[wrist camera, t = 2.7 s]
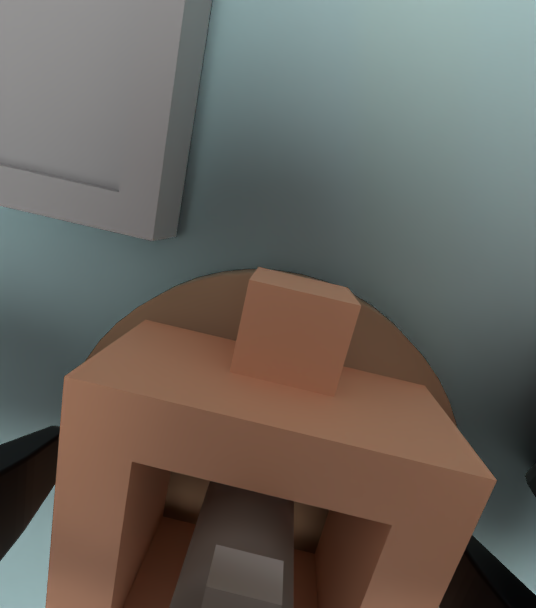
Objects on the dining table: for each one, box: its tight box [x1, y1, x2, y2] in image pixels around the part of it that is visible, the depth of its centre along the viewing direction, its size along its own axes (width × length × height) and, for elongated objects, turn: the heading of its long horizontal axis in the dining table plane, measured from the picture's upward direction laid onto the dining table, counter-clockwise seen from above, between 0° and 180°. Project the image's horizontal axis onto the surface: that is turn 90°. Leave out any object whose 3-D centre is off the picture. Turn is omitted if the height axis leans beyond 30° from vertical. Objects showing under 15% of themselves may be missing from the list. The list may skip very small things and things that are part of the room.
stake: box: [86, 269, 457, 608], centre depth 7 cm, size 10×10×5 cm
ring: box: [46, 267, 497, 608], centre depth 7 cm, size 8×7×3 cm
